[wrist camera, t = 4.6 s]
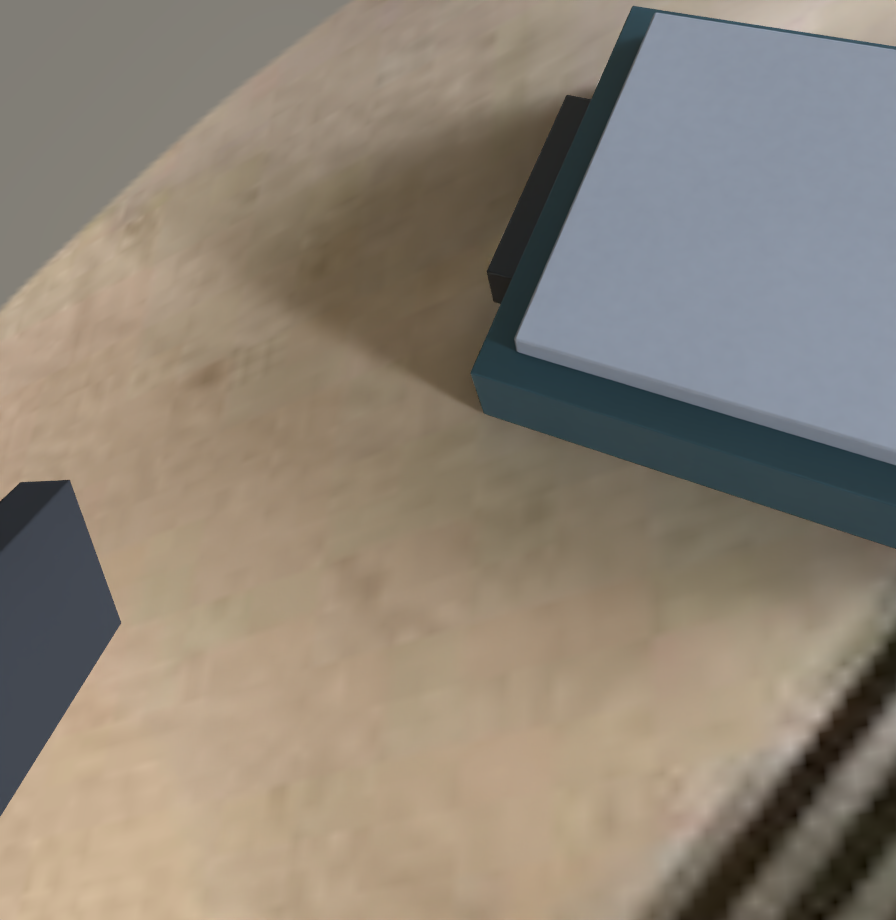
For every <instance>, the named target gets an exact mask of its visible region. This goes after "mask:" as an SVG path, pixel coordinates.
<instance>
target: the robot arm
mask: <svg viewBox="0 0 896 920" xmlns="http://www.w3.org/2000/svg"><path fill="white" fill-rule="evenodd" d="M120 624H121V621H120V618H119V615H118V612H117V610H116V607H115V604H114V601H113V599H112V596H111V593H110V590H109V588H108V585H107V582H106V579H105V577H104V574H103V571H102V568H101V565H100V563H99V560H98V557H97V554H96V552H95V549H94V546H93V543H92V541H91V538H90V535H89V532H88V529H87V527H86V524H85V521H84V518H83V516H82V513H81V510H80V507H79V505H78V502H77V499H76V496H75V493H74V491H73V488H72V485H71V482H70V480H60V481H39V482H20V483H19V484H18V485H17V486H16V487H15V488H14V489H13V490H12V491H11V492H10V493H9V494H8V495H7V496H6V497H5V498H3V499H2V500H1V501H0V816H1V815H2V813H3V811H4V810H5V808H6V807H7V805H8V803H9V802H10V800H11V799H12V797H13V795H14V794H15V792H16V791H17V789H18V787H19V786H20V784H21V783H22V781H23V779H24V778H25V776H26V774H27V773H28V771H29V770H30V768H31V766H32V765H33V763H34V762H35V760H36V758H37V757H38V755H39V754H40V752H41V750H42V749H43V747H44V746H45V744H46V742H47V741H48V739H49V738H50V736H51V734H52V733H53V731H54V730H55V728H56V726H57V725H58V723H59V722H60V720H61V718H62V717H63V715H64V714H65V712H66V710H67V709H68V707H69V706H70V704H71V702H72V701H73V699H74V698H75V696H76V694H77V693H78V691H79V690H80V688H81V686H82V685H83V683H84V682H85V680H86V678H87V677H88V675H89V674H90V672H91V670H92V669H93V667H94V666H95V664H96V662H97V661H98V659H99V658H100V656H101V654H102V653H103V651H104V650H105V648H106V646H107V645H108V643H109V642H110V640H111V638H112V637H113V635H114V634H115V632H116V630H117V629H118V627H119V626H120Z"/></svg>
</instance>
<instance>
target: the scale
mask: <svg viewBox="0 0 896 920" xmlns="http://www.w3.org/2000/svg"><path fill="white" fill-rule="evenodd" d="M487 275H488V280H489V284H490V289H491V293H492V298H493V301H494V302H496V303H499V304H501V305H500V307H499V309H498V311H497V314H496V316H495V318H494V320H493V323H492V325H491V327H490V329H489V332H488V334H487V336H486V339H485V341H484V343H483V345H482V348H481V350H480V352H479V354H478V357H477V359H476V361H475V363H474V366H473V368H472V370H471V376H472V379H473V382H474V385H475V388H476V391H477V394H478V397H479V400H480V404H481V407H482V410H483V413H484V414H487V415H490V416H493V417H496V418H499V419H502V420H505V421H508V422H511V423H514V424H517V425H520V426H523V427H526V428H530V429H533V430H536V431H539V432H542V433H545V434H548V435H551V436H554V437H557V438H560V439H563V440H566V441H569V442H572V443H575V444H578V445H581V446H584V447H587V448H590V449H593V450H597V451H600V452H603V453H606V454H609V455H612V456H615V457H618V458H621V459H624V460H627V461H630V462H633V463H636V464H639V465H642V466H645V467H648V468H651V469H654V470H657V471H660V472H664V473H667V474H670V475H673V476H676V477H679V478H682V479H685V480H688V481H691V482H694V483H697V484H700V485H703V486H706V487H709V488H712V489H715V490H718V491H721V492H724V493H728V494H731V495H734V496H737V497H740V498H743V499H746V500H749V501H752V502H755V503H758V504H761V505H764V506H767V507H770V508H773V509H776V510H779V511H782V512H785V513H788V514H791V515H795V516H798V517H801V518H804V519H807V520H810V521H813V522H816V523H819V524H822V525H825V526H828V527H831V528H834V529H837V530H840V531H843V532H846V533H849V534H852V535H855V536H858V537H862V538H865V539H868V540H871V541H874V542H877V543H880V544H883V545H886V546H889V547H892V548H895V549H896V47H895V46H889V45H882V44H876V43H869V42H863V41H856V40H850V39H843V38H837V37H830V36H824V35H818V34H811V33H805V32H798V31H792V30H785V29H779V28H772V27H766V26H759V25H753V24H746V23H740V22H733V21H727V20H721V19H714V18H708V17H701V16H695V15H688V14H682V13H675V12H669V11H662V10H656V9H649V8H643V7H636V6H633V7H632V8H631V11H630V13H629V15H628V17H627V20H626V22H625V24H624V26H623V29H622V31H621V33H620V35H619V38H618V40H617V42H616V45H615V47H614V49H613V51H612V54H611V56H610V58H609V60H608V63H607V65H606V67H605V69H604V72H603V74H602V76H601V78H600V81H599V83H598V85H597V88H596V90H595V92H594V94H593V97H592V99H586V98H581V97H576V96H571V95H567V96H566V97H565V100H564V102H563V104H562V106H561V109H560V111H559V113H558V115H557V117H556V120H555V122H554V124H553V126H552V128H551V131H550V133H549V135H548V137H547V139H546V142H545V144H544V146H543V148H542V150H541V153H540V155H539V157H538V159H537V161H536V164H535V166H534V168H533V170H532V172H531V175H530V177H529V179H528V181H527V184H526V186H525V188H524V190H523V192H522V195H521V197H520V199H519V201H518V203H517V206H516V208H515V210H514V212H513V214H512V217H511V219H510V221H509V223H508V225H507V228H506V230H505V232H504V234H503V236H502V239H501V241H500V243H499V245H498V247H497V250H496V252H495V254H494V256H493V259H492V261H491V263H490V265H489V267H488V270H487Z"/></svg>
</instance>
